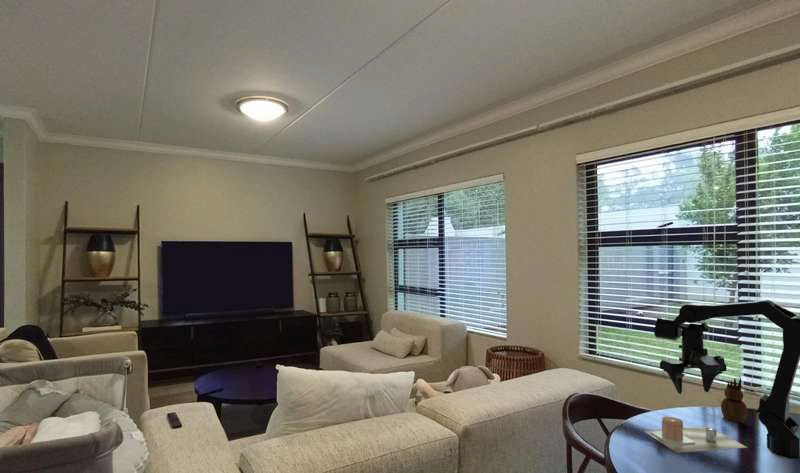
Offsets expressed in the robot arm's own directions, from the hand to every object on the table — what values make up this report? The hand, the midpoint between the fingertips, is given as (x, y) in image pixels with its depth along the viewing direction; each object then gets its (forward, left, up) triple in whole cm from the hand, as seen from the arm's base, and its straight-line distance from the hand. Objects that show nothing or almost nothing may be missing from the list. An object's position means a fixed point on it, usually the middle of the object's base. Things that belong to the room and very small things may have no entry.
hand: (693, 392), depth 139 cm
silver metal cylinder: (-9, +2, -11) cm, 14 cm away
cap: (-6, +12, -10) cm, 17 cm away
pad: (-6, +12, -11) cm, 17 cm away
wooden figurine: (+4, -18, -12) cm, 22 cm away
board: (-7, +6, -12) cm, 15 cm away
